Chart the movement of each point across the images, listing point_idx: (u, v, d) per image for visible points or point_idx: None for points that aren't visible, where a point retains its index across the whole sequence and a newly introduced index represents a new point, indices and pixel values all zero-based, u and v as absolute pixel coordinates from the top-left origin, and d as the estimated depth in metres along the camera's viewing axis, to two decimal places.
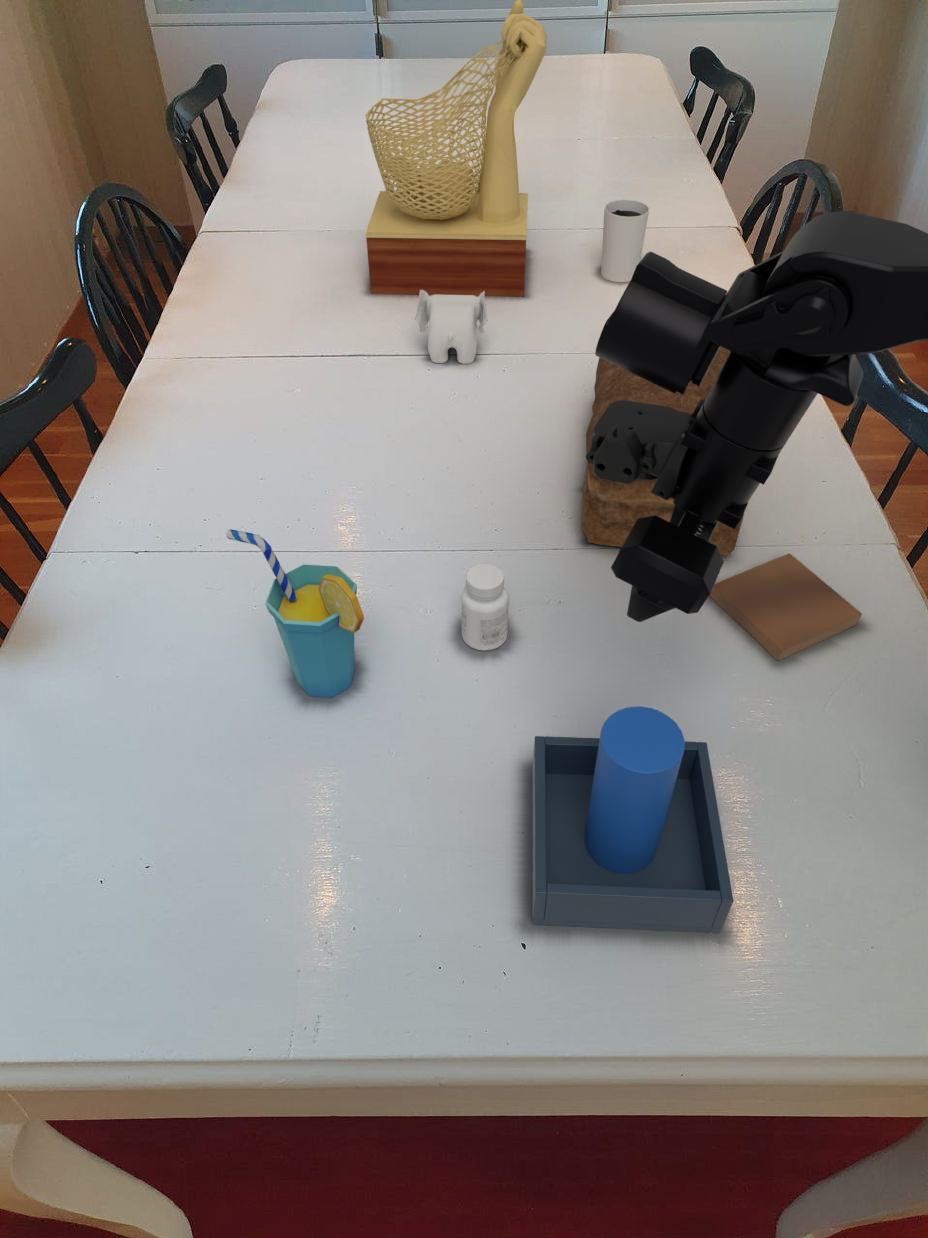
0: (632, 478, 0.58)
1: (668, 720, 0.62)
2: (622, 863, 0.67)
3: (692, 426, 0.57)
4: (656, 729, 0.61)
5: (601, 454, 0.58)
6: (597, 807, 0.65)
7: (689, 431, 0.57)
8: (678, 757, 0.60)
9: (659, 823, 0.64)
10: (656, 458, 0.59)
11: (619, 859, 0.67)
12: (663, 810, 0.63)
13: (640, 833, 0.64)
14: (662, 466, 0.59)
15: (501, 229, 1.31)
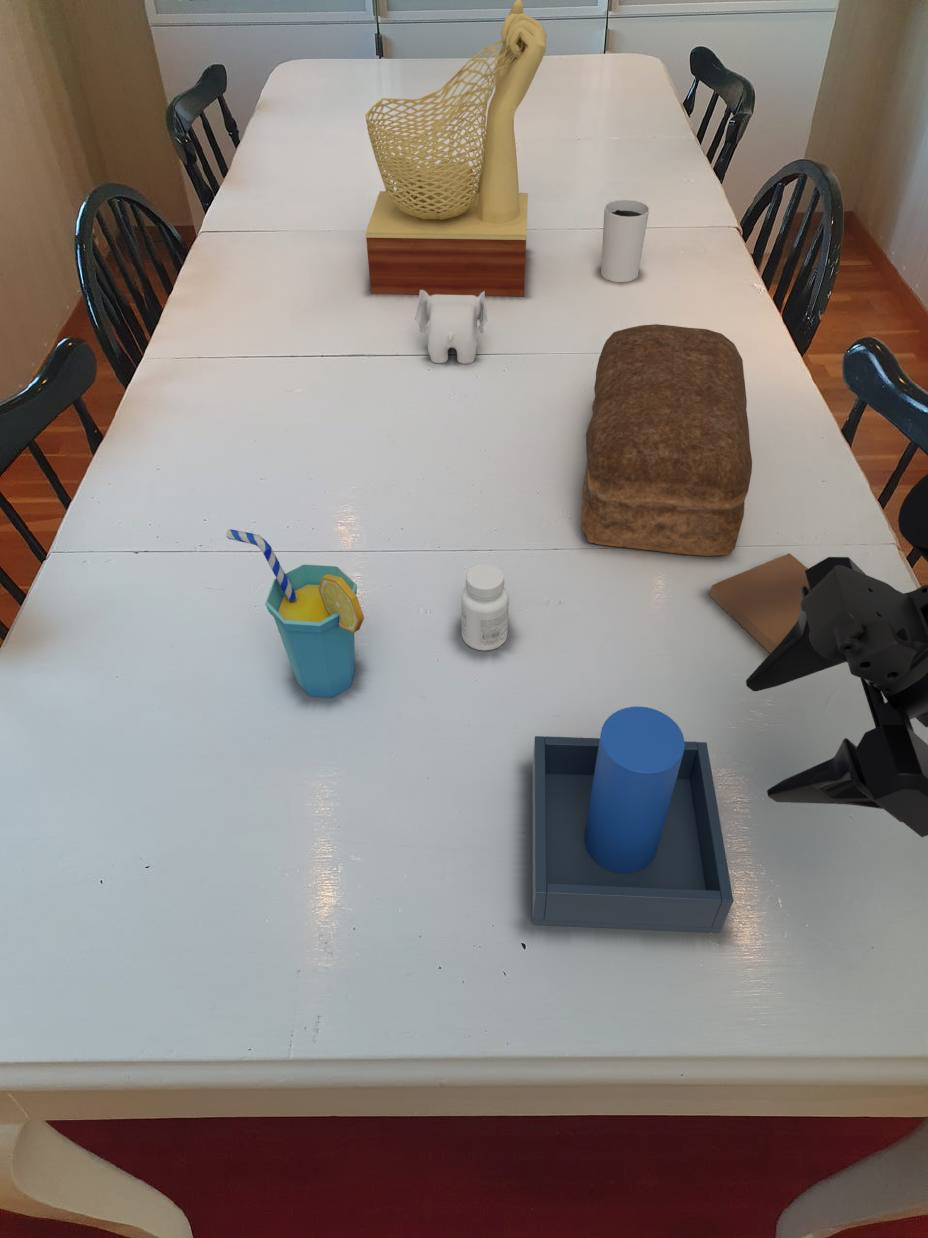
0: (892, 681, 0.50)
1: (668, 720, 0.62)
2: (622, 863, 0.67)
3: None
4: (656, 729, 0.61)
5: (878, 654, 0.48)
6: (597, 807, 0.65)
7: None
8: (678, 757, 0.60)
9: (659, 823, 0.64)
10: None
11: (619, 859, 0.67)
12: (663, 810, 0.63)
13: (640, 833, 0.64)
14: None
15: (501, 229, 1.31)
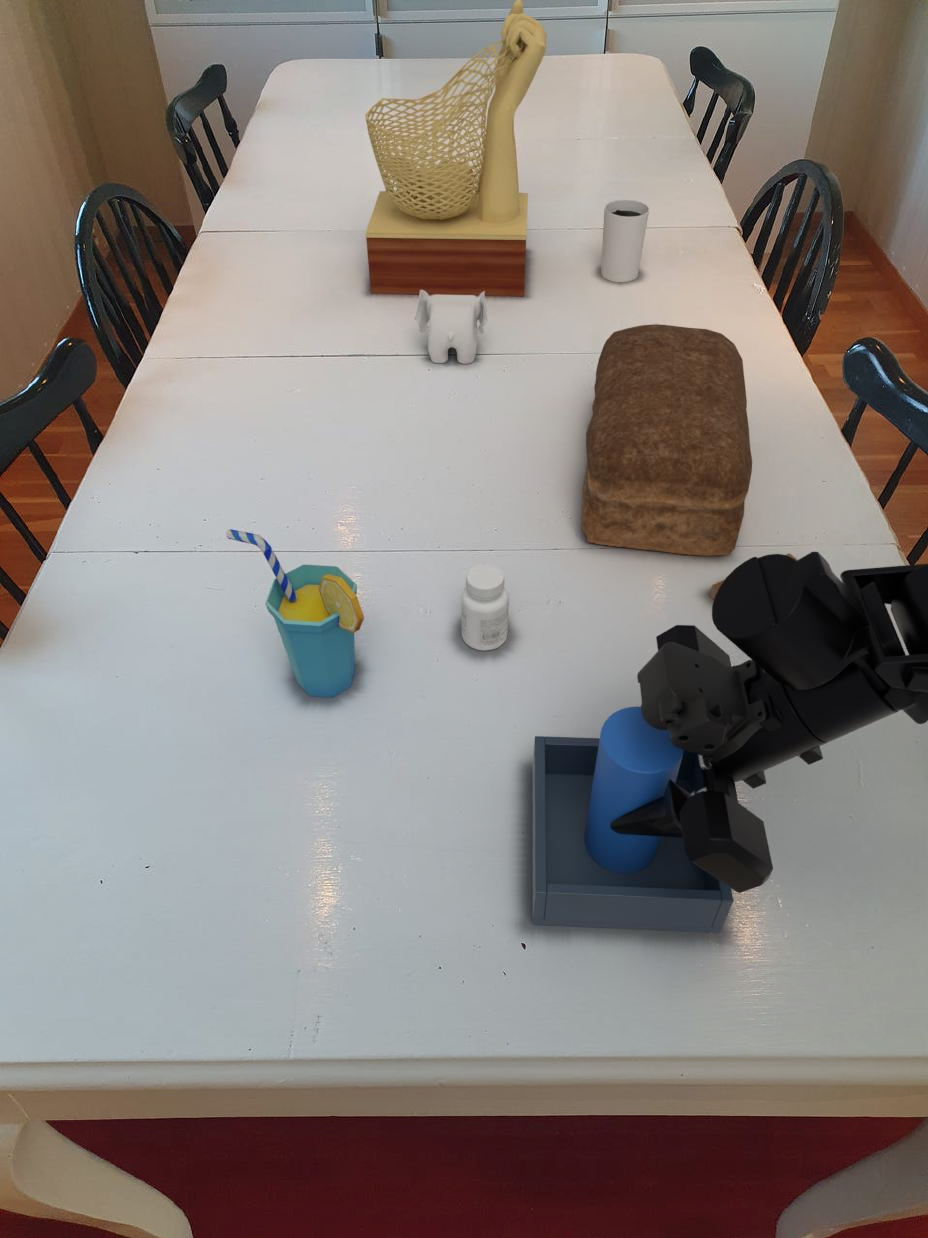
0: (709, 753, 0.55)
1: None
2: (622, 864, 0.67)
3: (772, 707, 0.55)
4: (656, 729, 0.61)
5: (694, 730, 0.53)
6: (597, 808, 0.65)
7: (773, 715, 0.55)
8: (678, 757, 0.60)
9: None
10: None
11: (619, 859, 0.67)
12: None
13: None
14: (727, 736, 0.56)
15: (501, 229, 1.31)
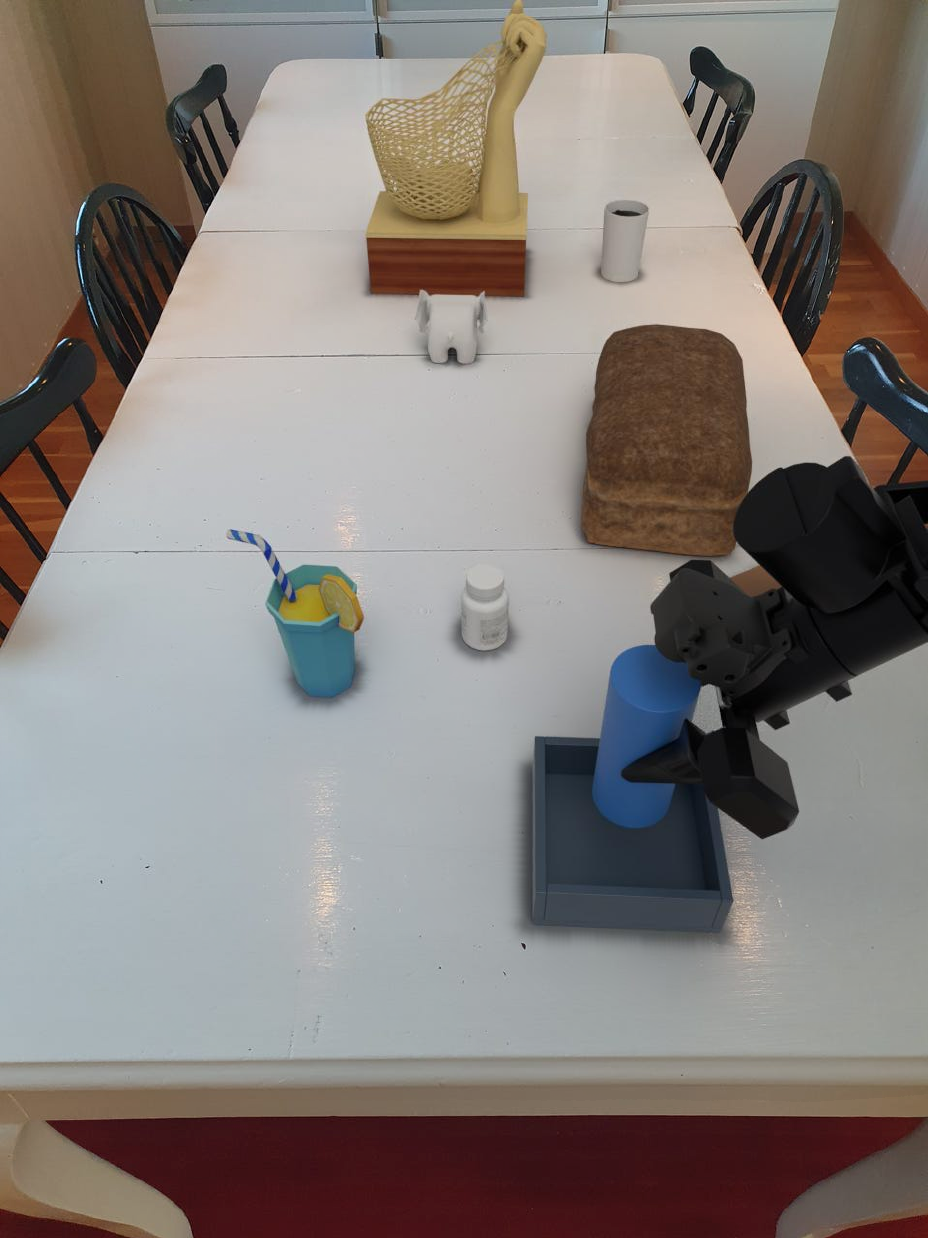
0: (730, 684, 0.50)
1: None
2: (632, 817, 0.63)
3: (797, 636, 0.51)
4: (670, 667, 0.57)
5: (713, 657, 0.49)
6: (606, 755, 0.60)
7: (799, 644, 0.50)
8: (694, 696, 0.55)
9: None
10: None
11: (629, 812, 0.62)
12: None
13: None
14: (749, 668, 0.52)
15: (501, 229, 1.31)
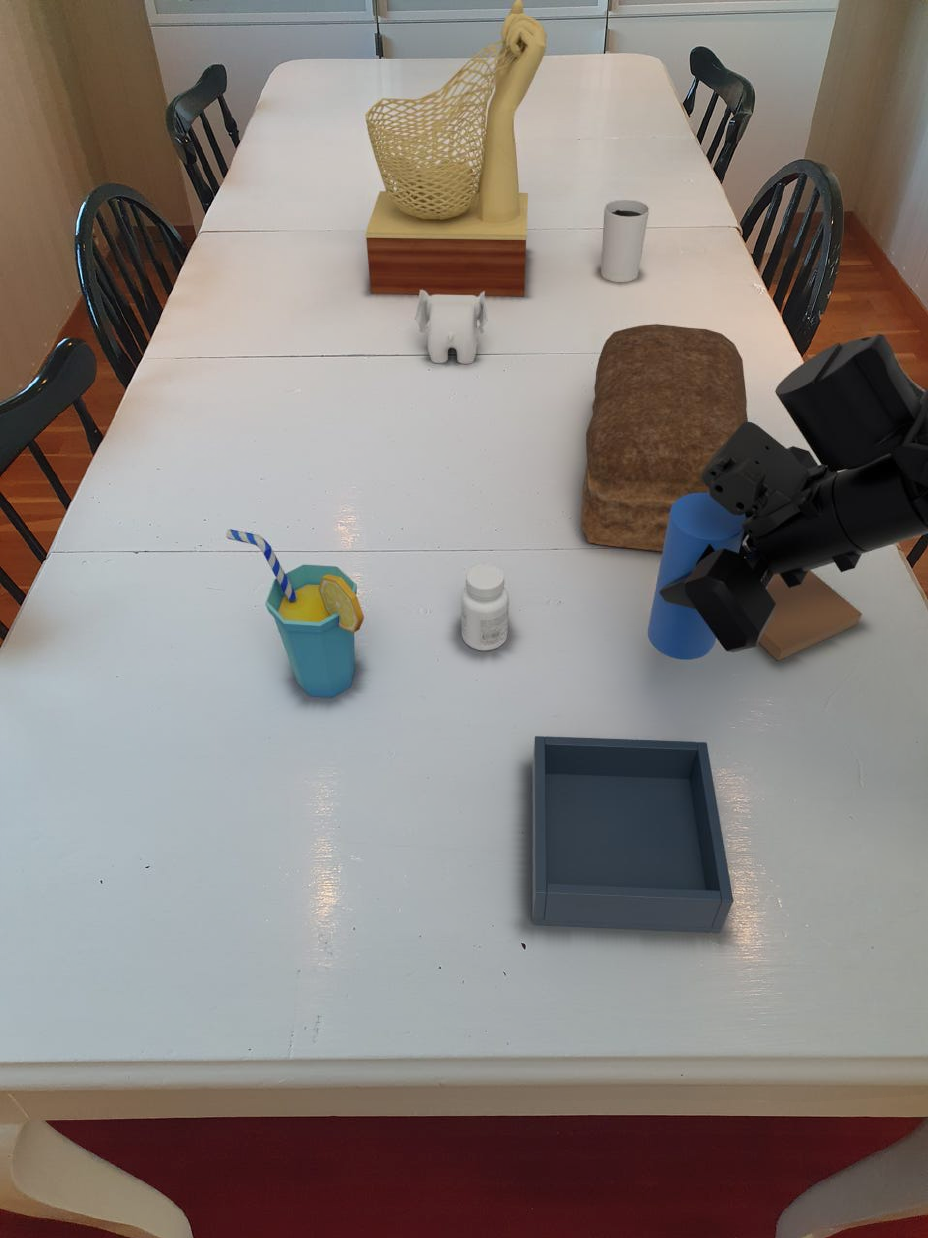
0: (740, 513, 0.61)
1: None
2: (667, 643, 0.74)
3: (815, 495, 0.60)
4: (725, 513, 0.68)
5: (727, 480, 0.60)
6: (658, 578, 0.72)
7: (811, 500, 0.59)
8: (729, 535, 0.66)
9: None
10: (766, 503, 0.61)
11: (665, 637, 0.74)
12: None
13: (685, 610, 0.71)
14: (767, 512, 0.61)
15: (501, 229, 1.31)
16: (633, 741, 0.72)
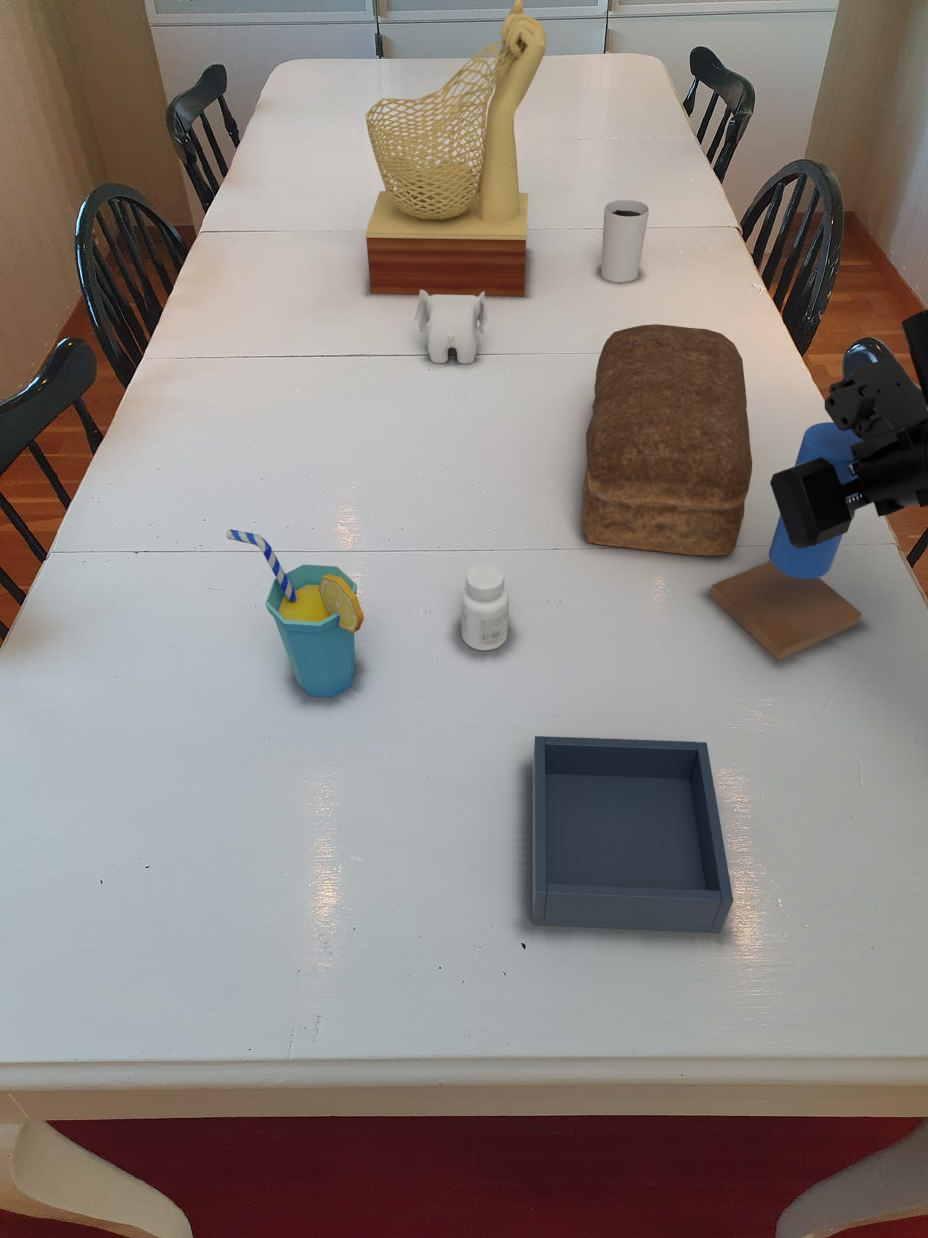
0: (843, 428, 0.68)
1: None
2: (778, 555, 0.82)
3: (914, 429, 0.66)
4: None
5: (839, 394, 0.68)
6: None
7: (908, 431, 0.66)
8: (845, 459, 0.73)
9: None
10: (873, 428, 0.68)
11: (778, 549, 0.82)
12: None
13: None
14: (871, 436, 0.68)
15: (501, 229, 1.31)
16: (633, 741, 0.72)
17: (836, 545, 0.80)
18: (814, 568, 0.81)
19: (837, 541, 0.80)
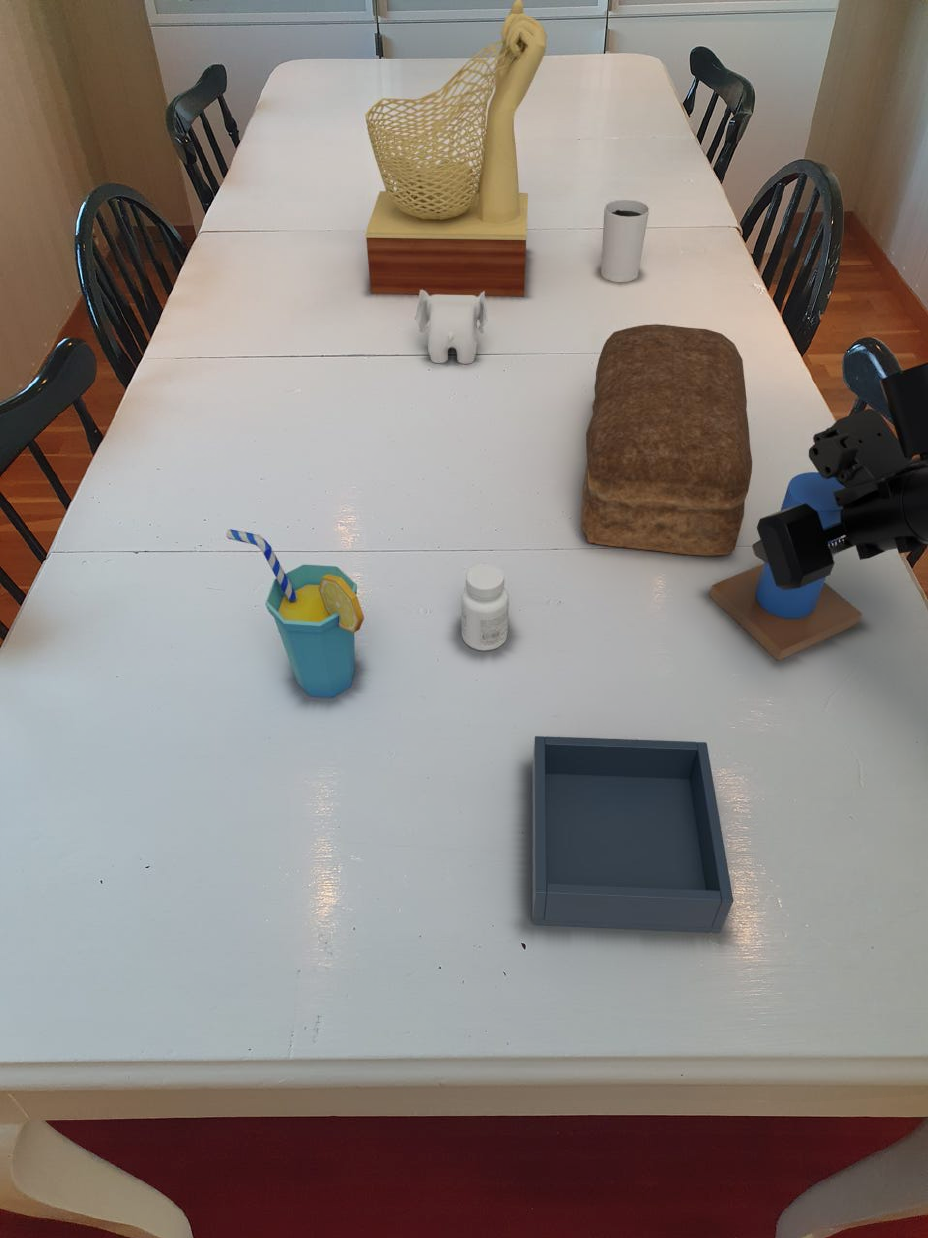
0: (826, 476, 0.72)
1: None
2: (764, 596, 0.86)
3: (894, 479, 0.69)
4: None
5: (822, 445, 0.71)
6: None
7: (888, 481, 0.69)
8: (826, 509, 0.77)
9: None
10: (854, 476, 0.71)
11: (764, 590, 0.86)
12: None
13: None
14: (853, 484, 0.72)
15: (501, 229, 1.31)
16: (633, 741, 0.72)
17: (819, 587, 0.84)
18: (798, 609, 0.85)
19: (820, 584, 0.83)
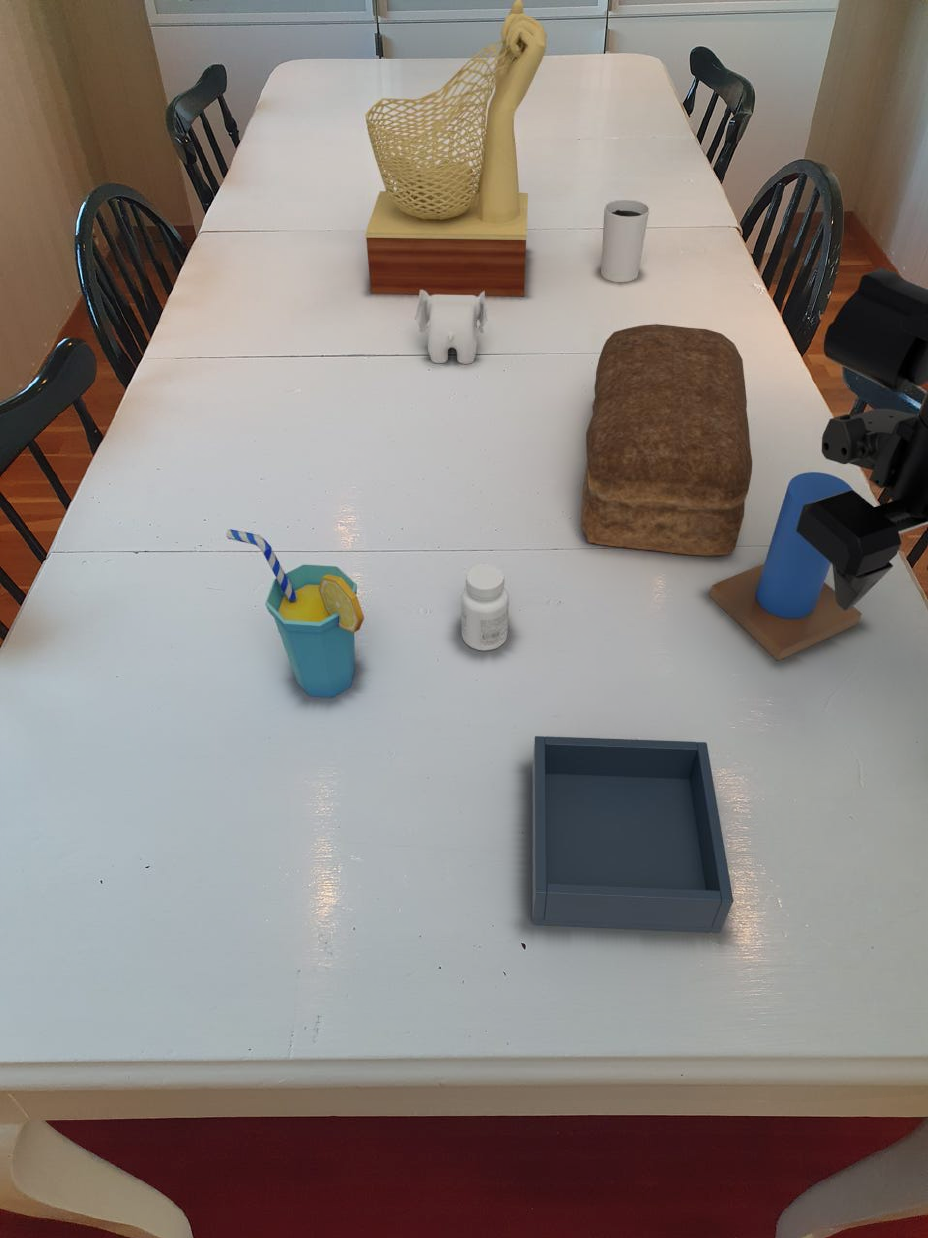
0: (846, 457, 0.66)
1: None
2: (764, 596, 0.86)
3: (910, 418, 0.63)
4: None
5: (826, 433, 0.67)
6: None
7: (903, 420, 0.63)
8: None
9: (798, 572, 0.82)
10: (877, 446, 0.65)
11: (764, 590, 0.86)
12: (804, 559, 0.81)
13: (781, 567, 0.82)
14: None
15: (501, 229, 1.31)
16: (633, 741, 0.72)
17: (819, 587, 0.84)
18: (798, 609, 0.85)
19: (820, 584, 0.83)
